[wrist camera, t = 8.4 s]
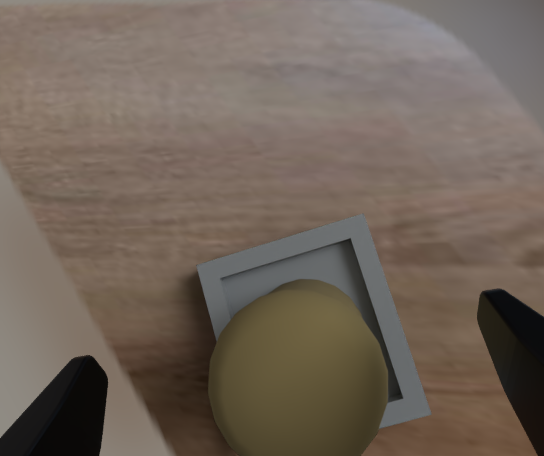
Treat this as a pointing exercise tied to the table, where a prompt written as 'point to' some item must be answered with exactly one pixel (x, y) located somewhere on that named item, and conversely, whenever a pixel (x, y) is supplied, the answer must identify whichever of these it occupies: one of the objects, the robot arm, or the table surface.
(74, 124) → the table surface
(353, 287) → the gray tray
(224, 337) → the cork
